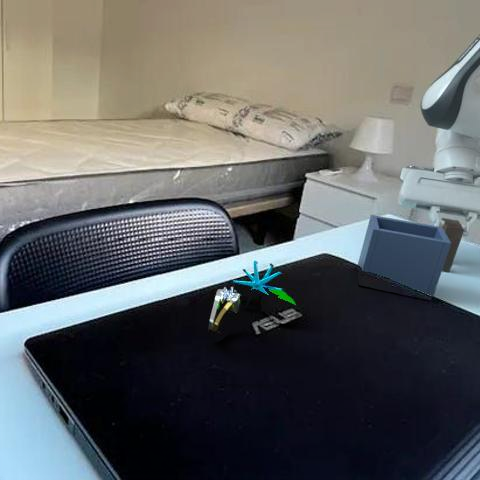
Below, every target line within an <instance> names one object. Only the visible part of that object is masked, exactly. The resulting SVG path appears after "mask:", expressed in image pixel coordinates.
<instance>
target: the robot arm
mask: <svg viewBox="0 0 480 480" xmlns="http://www.w3.org/2000/svg"><path fill="white" fill-rule="evenodd" d="M479 78H480V34H479V35H477V37H476V38H475V39H474V40H473V41H472V42H471V44H470V45H468V47H467V48H466V49H465V50H464V51H463V52H462V53H461V54H460V55H459V57H458V58H457V59H456V60H455V61H454V62H453V63H452V65H450V67H449V68H447V69H446V70H445V71H444V72H443V73H442V74H441V75H439V76H438V77H437V78H436V79H435V80H434V81H433V82H432V83H431V84H430V85H429V87H428V88H427V89H426V91H425V92H424V94H423V96H422V98H421V101H420V112H421V115H422V117H423V119H424V121H425V122H426V124H427V125H428V126H429V127H432V128H436V132H435V133H436V134H435V148H436V151H435V153H434V155H433V160H432V167H430V166H419V165H416V164H410V165H409V166H408V165H407V166H404V167H403V168H402V169H400V173H399V180H400V182H401V185H400V187H399V191H398V196H397V199H396V201H397V203H398V205H399V206H401V207H402V208H408V209H414V210H415V209H416V210H420V211H425V212H426V211H427V212H428V216H429V219H430V220H431V222H432V223H433V226H436V227H437V226H438V227H443V229H444V224H445V221H443V220H441V218H440V216H439V214H445V215H450V216H456V217H461V218H462V217H463V218H464V221H465V222H466V223H460V224H461V225H462V227H463V228H464V232H463V235H462V237H467V236H468V235H469V234H470V230H471V229H470V228H471V226H472V224H473V223H474V222H475V220H480V82H479V81H477V80H478V79H479Z"/></svg>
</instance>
